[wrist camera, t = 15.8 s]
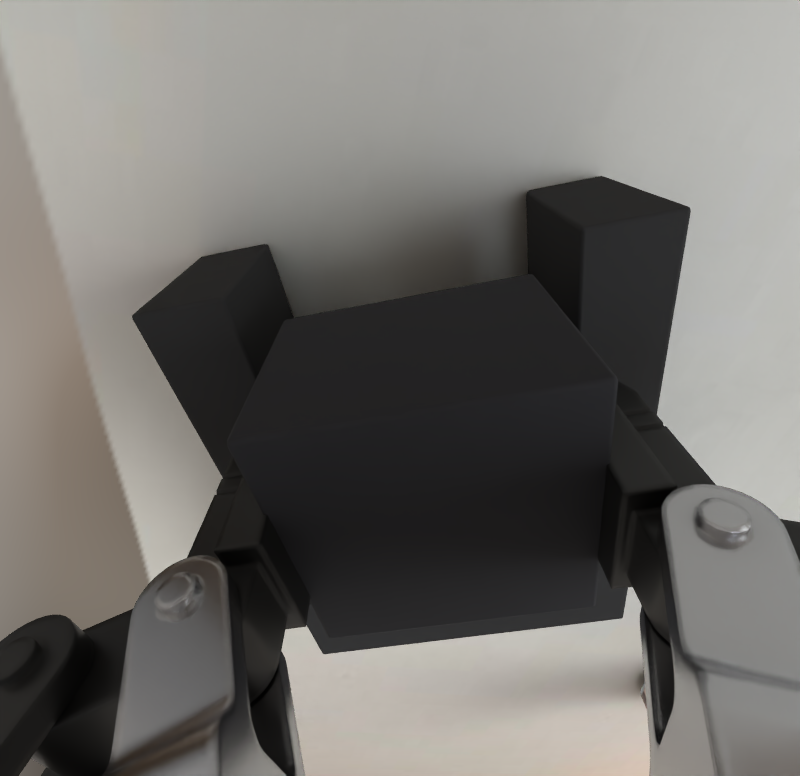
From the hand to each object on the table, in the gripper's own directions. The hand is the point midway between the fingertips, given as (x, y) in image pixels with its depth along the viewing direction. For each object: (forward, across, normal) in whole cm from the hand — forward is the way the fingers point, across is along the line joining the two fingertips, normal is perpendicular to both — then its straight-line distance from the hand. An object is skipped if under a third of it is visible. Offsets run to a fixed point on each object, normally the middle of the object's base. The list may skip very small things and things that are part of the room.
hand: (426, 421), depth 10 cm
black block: (+1, 0, 0) cm, 1 cm away
